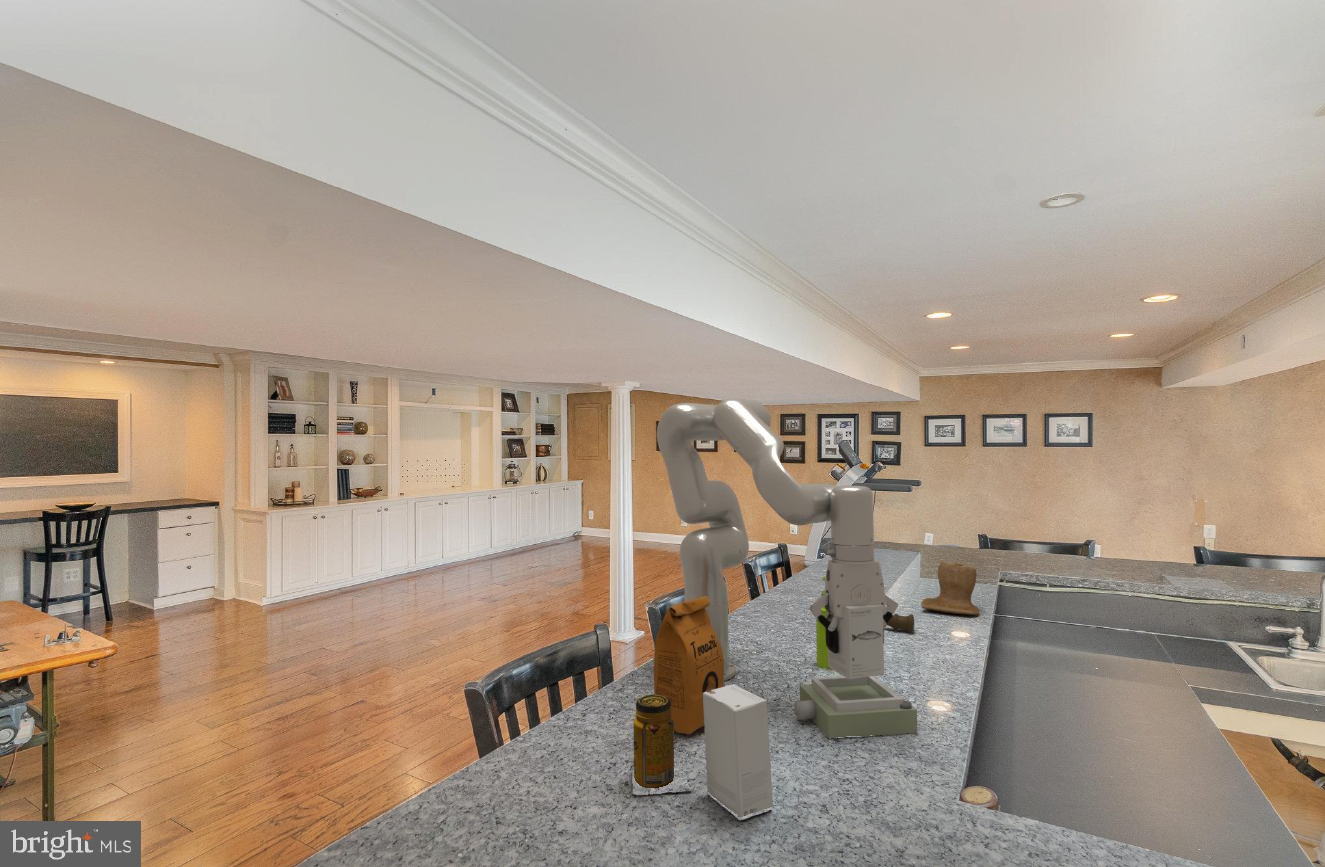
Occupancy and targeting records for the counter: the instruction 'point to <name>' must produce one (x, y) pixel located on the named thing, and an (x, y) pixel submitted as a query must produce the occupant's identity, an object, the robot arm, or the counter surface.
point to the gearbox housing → (855, 707)
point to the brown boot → (954, 589)
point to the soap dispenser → (822, 640)
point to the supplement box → (859, 642)
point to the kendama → (902, 622)
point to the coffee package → (687, 662)
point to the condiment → (653, 742)
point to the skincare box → (737, 749)
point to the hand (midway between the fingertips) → (855, 649)
